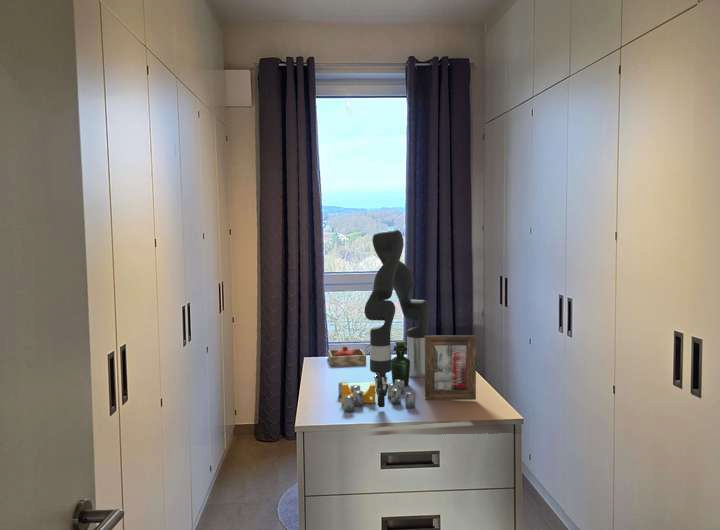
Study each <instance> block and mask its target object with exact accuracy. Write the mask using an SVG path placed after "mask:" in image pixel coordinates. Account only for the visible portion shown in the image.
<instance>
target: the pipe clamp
mask: <svg viewBox="0 0 720 530" xmlns="http://www.w3.org/2000/svg"><path fill="white" fill-rule="evenodd" d="M348 383H349V382H347V383H343V384H342V398H341V405H344V396H346V395H352V396H353V392H352V391H351V390H350V388H349V386H348ZM365 403H366V404H367V403H368V404H370V403H371V404H374V403H376V392H375V383H370V387H369V389H368V390H367V391H366V392H365V393H363V404H365Z"/></svg>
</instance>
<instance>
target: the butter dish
mask: <svg viewBox="0 0 720 530" xmlns="http://www.w3.org/2000/svg"><path fill="white" fill-rule="evenodd" d="M339 350H340V351H338V352H337V353H336V356H355V353H354V351H353V350H349V347H348V346H345V345H344V346H342V349H339Z"/></svg>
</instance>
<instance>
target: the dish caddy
mask: <svg viewBox="0 0 720 530" xmlns="http://www.w3.org/2000/svg"><path fill="white" fill-rule="evenodd" d="M348 349H349V348H348ZM340 350H341V349H328V350H327V351H328V352H327V354H328V355H327V356H328V357H327V359H328V361H329V363H330V366H331V367H341V366H344V365H347V366H365V365H364V364H366V365H367V355H366V353H365V352H364V351H363V349H362V348H350V349H349V350H353V351H354V353H355V356H336V353H337V352H338V351H340Z"/></svg>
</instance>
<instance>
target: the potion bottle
mask: <svg viewBox="0 0 720 530" xmlns="http://www.w3.org/2000/svg"><path fill="white" fill-rule="evenodd" d="M405 343H406V341H405V340H400V339H399V340H395V346H394V347H393V348H392V349H393V351H395V354H396V356H395V357H393V358H391V366H392V370H391V371H390V372H391V380H392V382H391V383H395V380H396V379H403V380H404V388H405V387H407V386H409V383H410V376H409V372H410V360H409V359H408V358H407V356H405V352H407V345H406V346H405Z"/></svg>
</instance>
